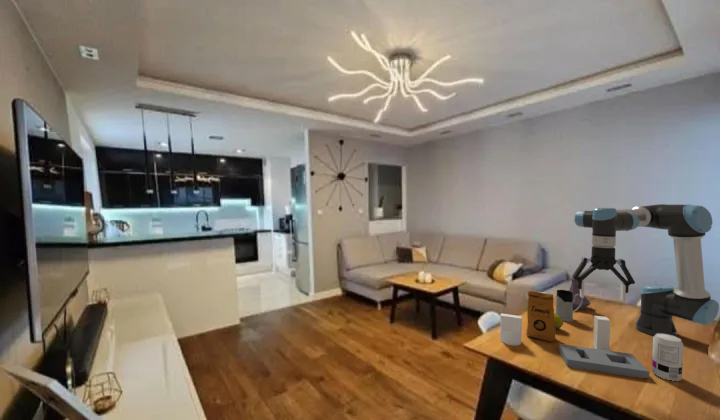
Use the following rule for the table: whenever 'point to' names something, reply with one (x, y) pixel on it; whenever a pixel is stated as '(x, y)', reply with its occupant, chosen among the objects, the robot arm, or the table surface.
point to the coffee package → (541, 316)
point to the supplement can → (667, 356)
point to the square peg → (601, 333)
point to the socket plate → (602, 361)
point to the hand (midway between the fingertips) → (601, 298)
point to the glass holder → (565, 304)
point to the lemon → (558, 321)
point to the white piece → (510, 329)
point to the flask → (578, 296)
